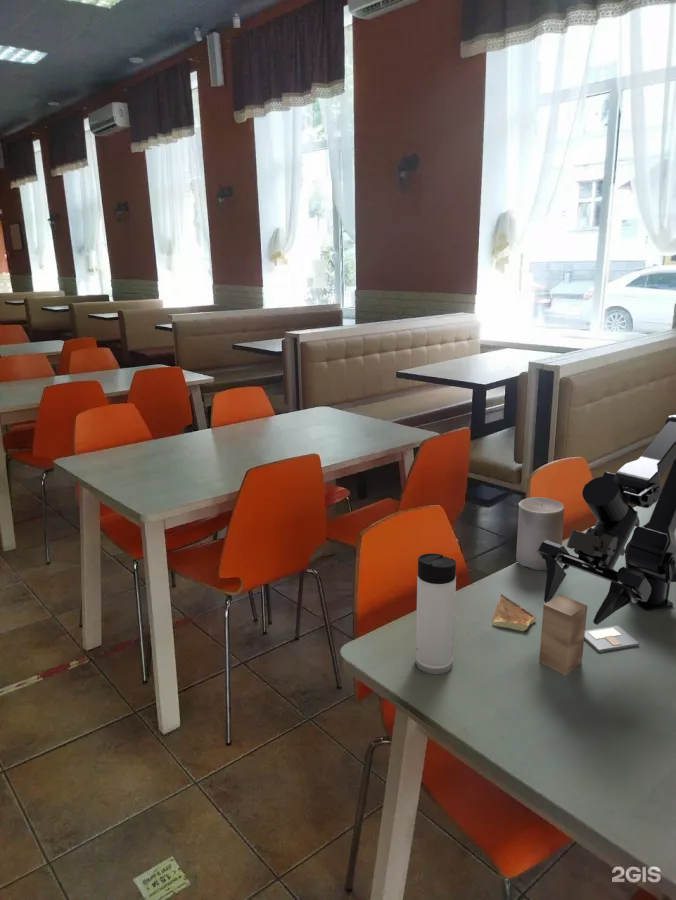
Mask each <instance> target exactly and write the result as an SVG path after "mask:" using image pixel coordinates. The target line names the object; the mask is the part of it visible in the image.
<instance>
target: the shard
mask: <svg viewBox="0 0 676 900" xmlns="http://www.w3.org/2000/svg"><path fill="white" fill-rule="evenodd" d="M536 621H537V617H536V616H535V615H534V614H532V613H531V612H529V611H527V610H526V609H525V608H523V607H522V606H521V605H519V604H517V603H516V602H514V601H513V600H511V599H509V598H507V597H506V596H505V595H503V594H500V596H499V600H498V603H497V605H496V608H495V610H494V614H493V618H492V625H493V626H495V627H500V628H507V629H512V630H516V631H521V632H524V631H526V630H528V629H529V626H530V625H533V624H534V623H536Z"/></svg>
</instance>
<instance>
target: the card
mask: <svg viewBox="0 0 676 900" xmlns="http://www.w3.org/2000/svg"><path fill="white" fill-rule="evenodd" d="M584 641H586V642H587V643H588V644H589V645H590V646H591V647H592V648H593V649H595V650H596V651H597V653H603V652H604V653H605V652H609V651H613V650H614V651H615V650H621V649H627V648H628V649H629V648H632V647H639V646H640V643H639V642H638V641H637V640H636V639H635V638H634V637H632V636H631V634H629V633H628V632H626V631H625V630H624V629H623V628H622V627H620V626H619V625H613V626H612V625H611V626H607V627H600V628H599V627H598V628H594V629H588V630H585V636H584Z"/></svg>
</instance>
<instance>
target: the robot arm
mask: <svg viewBox="0 0 676 900" xmlns="http://www.w3.org/2000/svg"><path fill="white" fill-rule="evenodd" d="M667 471H668V473H667V476H666V478H665V481H664V482H663V485H662V482H661V480H662V478H663V476H664V474H665V473H666V472H667ZM581 494H582V498H583V500H584V501H585V503H586V504H587V506H588V508H589V509H590V511H591V512H592V514H593V516H594V518H596V522H595V525H594V527H593V528H592V527H589V528H588V529H587V530H586V532H582V531H579V530H576V529H573V528H572V529H571V532H570V533H569V534H570V535H569V538H568V540H567V543H566V547H565V545H563V544H562V545H560V544H557V543H554V542H551V541H548V540H546V541H544V542H542V543H541V544H540V545H539V547H538V549H537V552H538V554H539V555H540V556H541V559H542V560H543V561H544V563H545V564H546V567H547V570H546V580H545V587H544V595H543V602H544V604H545V603H547V602H549V601H550V600H552V599H554V598H553V597H554V596H555V594H556V592H557V591H558V589H559V588H560V586H561V584H562V582H563V581H564V579H565V578H566V576H567V573H566V571H565V570H568V569H569V568H570V567H572V568H574V569H577V570H579V571H582V572H585V573H588V574H590V575H592V576H595V577H598V578H601V579H603V580H606V581H607V582H608V581H609V582H610V584H609V585H610V586H609V589H608V593H607V595H606V596H605V598H604V599H603V601H602V603H601V605H600V607H599V608H598V610H597V612H596V613H595V616H594V619H593V621H592V622H593V624H594V625H596V626H598V625H599V624H601V623H602V622H603V621H605V620H606V619H607V618H609V617H610V616H611V615H612V614H614V613H616V611H619V609H622V608H624V607H626V606H627V605H629V604H631V603H632V604H635V605H637V606H639V607H640V608H642V610H644V611H651V610H658V609H659V610H660V609H665V608H671V607H672V608H673V607H674V603H673V602H672V601H671V600H669V595H670V588H671V583H676V536H675V531H676V414H673V415H669V416H668V417H667V418H666V421H665V424H664V426H663V427H662V429H661V430H660V431H659V432H658V435H656V437H655V438H654V439H653V440H652V442H651V443H650V444H649V445H648V446H647V448H646V449H645V451H644V452H643V453H642V454H641V455H640V457H639V458H638V459H635V460H633V461H629V462H627V463H625V464H624V465H623V466H621V467H620V468H619V469H618V470H617V471H616V472H615V473H613V472H608V471H605V472H603V475H602V476H599V477H595V478H593V479H590V481H589V480H588V482H587V483H585V484H584V486H583V488H582V493H581ZM653 504H655V505H654V508H653V510H652V513H651V516H650V518H649V521H648V522H646V523H645V524H643V525H642V526H641V525H640V523H641V522H640V518H639V516H638V514H639V512H638V511H637V510H635V509H634V508H633V507H632V506H636V507H638V508H639V507H640V508H643V509H649V508H651V507H652V506H653ZM631 505H632V506H631ZM632 532H633V533H632ZM631 534H632V536H631ZM630 536H631V538H630ZM629 538H630V540H629ZM628 540H629V541H628ZM627 542H628V543H627ZM625 546H626V547H625ZM566 548H568V549H571V550H573V552H574V554H576V555H578V556H575V555H572V554H570V553H569V552H568V550H567V549H566ZM620 556H622V557H624V558H625V559H624V560H625V566H622V567H620V568H618V570H615V569H614V567H615V565H616V564H617V561H618V559H619V558H620Z"/></svg>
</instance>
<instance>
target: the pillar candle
mask: <svg viewBox="0 0 676 900" xmlns="http://www.w3.org/2000/svg"><path fill="white" fill-rule="evenodd" d="M564 515H565V505H564V503H562V502H560V501H559V500H556V499H553V498H550V497H543V496H542V497H541V496H540V497H539V496H538V497H537V496H536V497H535V496H533V497H526V498H524V499H521V500H520V501H519V502H518V519H517V534H516V535H517V537H516V554H515V555H516V556H515V557H516V562H517V563H518V564H519V565H521V566H522V567H523V566H524V567H527V568H529V569H532V570H535V571H547V567H546V564H545V563H544V561H543V560H542V559H541V556H540V555H539V554H538V552H537V549H538V547H539V545H540V544H541V543H542V542H544V541H546V540H548V541H551V542H554V543H557V544H560V545H563V534H564V533H563V532H564V518H565V517H564Z"/></svg>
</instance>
